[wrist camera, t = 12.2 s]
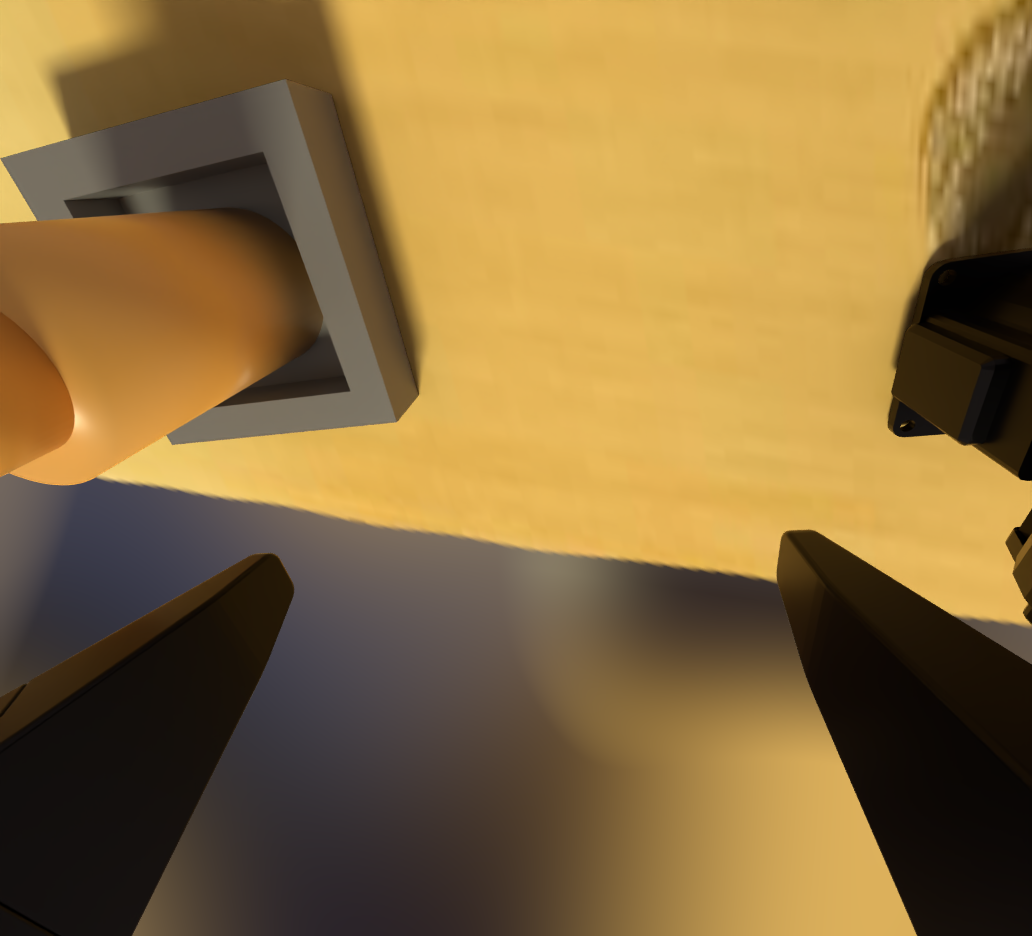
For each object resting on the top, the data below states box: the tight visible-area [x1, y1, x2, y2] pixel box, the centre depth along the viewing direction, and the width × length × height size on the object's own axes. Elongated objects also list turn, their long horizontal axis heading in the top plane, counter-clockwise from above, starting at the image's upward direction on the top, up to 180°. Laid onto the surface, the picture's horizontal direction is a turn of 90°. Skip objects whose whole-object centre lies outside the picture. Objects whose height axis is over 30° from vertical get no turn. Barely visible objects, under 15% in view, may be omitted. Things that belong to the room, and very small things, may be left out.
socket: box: [0, 79, 419, 445], centre depth 19 cm, size 11×11×3 cm
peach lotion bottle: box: [0, 207, 323, 485], centre depth 14 cm, size 6×6×13 cm
